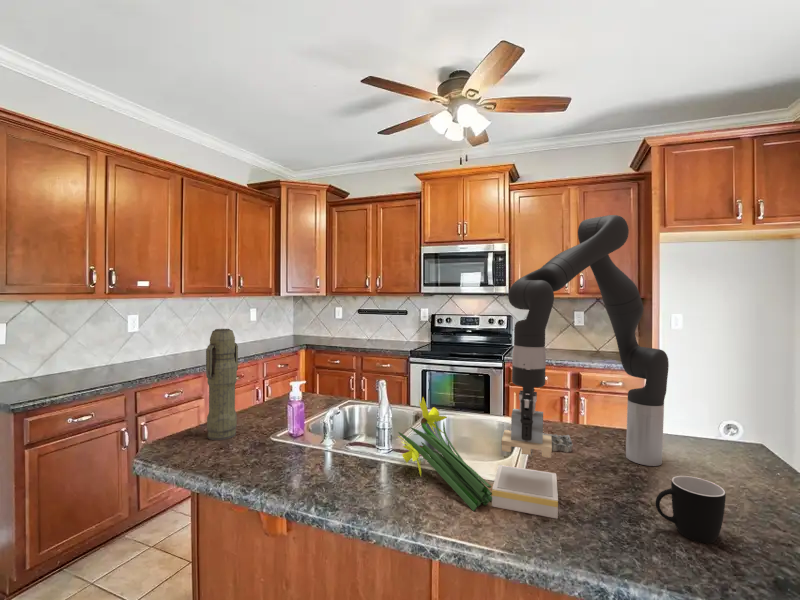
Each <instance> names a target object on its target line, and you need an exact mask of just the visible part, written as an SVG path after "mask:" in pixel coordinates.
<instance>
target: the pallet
mask: <svg viewBox="0 0 800 600" xmlns="http://www.w3.org/2000/svg"><path fill="white" fill-rule="evenodd" d="M524 418H529V419H530V415H524ZM520 419H521V413H520V408H512V412H511V421H510V422H511V423H510V427H511V428H510V430H509V429H504V431H503V434H502V438H501V452H507V453H511V452H512V447H513V448H521V455H527V456H531V455H532V454H531V453H532V450H536V451H541V457H542V458H549V459H552V452H553V450H552V439H551V436H550V435H543V433H544V411H537V410H535V414H533V420H532V421H533V423H532V439H531V440H530V441H528V440H523V439H522V423H521V421H520Z"/></svg>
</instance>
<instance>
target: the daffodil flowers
mask: <svg viewBox="0 0 800 600" xmlns="http://www.w3.org/2000/svg"><path fill="white" fill-rule="evenodd" d="M425 400H426V399H425V398H424V396H422V398H421V400H420V399H419V400H418V401H419V402H418V403H419V404H418V405H419V406H420V409H421V411H422V412H421V413H422V414H421V415H422V417H423V418H421V420H420V425H421V428H422V429H423V431H424V432H425V433H424V432H423V431H421V430H419V429H417V428H414V427H411V426H410V427H409V428H410V429H411V430H412V431H413V432H414V434H412V435H413V436H419V437H421V439H423V440H424V441H426V442H427V443H428V444H430V446H431V447H433V449H432V448H430V447H429V446H428V445H426V444H425V443H424V442H422V441H421V445H420V444H418V443H416V442H415V441H414V440H412V439H411V438H410V437H408V436H407V435H405V434H403V433H402V432H400V431H397V433H398V434H399V435H400V436H399V435H398V436H397V437H398V438H399V439H401V441H400V442H401V443H402V444H405V445H403V446H402V448H403V449H406V450H408V451H407V452H404V453H402V454H401V456H402V458H403V461H405V463H406V464H408V463H409V462H410V461H411V460H412V462H416V463H417V468H418V471H419V473H418V474H419V475H420V477H422V467H421V464H422V461H421V460H420V459H421V457H420V456H422V459H425V462H426V463H428V464H429V465H430V466H431V467H432V468H433V470H435V472H436V473H438V475H439V476H440V477H441V478H442V479H443V481H445V482H446V483H447V485H448V486H449V487H450V488H452V490H453V491H454V492H455V493H456V494H457V495H458V496H459V498H460V499H461V500H462V501H463V502H465V504H466V505H467V506H468V507H469V509H471V510H472V512H475V511H476V510H477V508H479V507H480V506H481V505H483V506H487V505H488V504H489V503H490V502H491V503H492V490H490V489H489V488H492V486H491V484H490V483H488V482H487V481H486V480H485V479H484V478H483V477H482V476H481V475H479V474H478V473H477V472H476V471H475V469H473V468H472V467H471V466H470V465H468V463H466V462H465V460H464V459H463V458H462V456H461V455H460V453H459V452H458V451H457V450H456V448H455V446H454V445H453V444H452V442H451V441H450V439H449V437H448V435H447V432H446V426H445V424H446V423H445V421H444V420H445V419H447V418H448V416H447V415H440V412H439V410H438V409H437V408H436V407H435V406H434V407H431V409H430V411H428V406H427V404H426V401H425ZM441 421H443V422H442V430H443V431H442V430H441V429H440V428H439V425H438V424H437V423H438V422H441ZM427 425H429V427H430V429H431V430H432V431H431V430H430V429H429V428H428V426H427ZM434 429H435V430H436V432H437V434H436V432H435V431H434ZM433 432H434V433H433ZM441 433H442V434H443V435H444V437H445V439H446V441H447V443H446V441H445V439H444V438H443V435H442V434H441ZM436 435H437V436H438V437H437V436H436Z"/></svg>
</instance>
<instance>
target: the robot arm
mask: <svg viewBox="0 0 800 600" xmlns="http://www.w3.org/2000/svg"><path fill="white" fill-rule="evenodd" d="M577 238H578V239H577V240H578V242H579V243H578V244H575V245H573V246H572V247H570V248H567V249H565V250H564V251H562V252H559V253H558V254H556V255H554V257H552V258H550V259H549V261H547V262H545V264H543V265H542V266H541V267H540V268H538V269H536V270H533V271H531V272H529V273H528V274H526V275H523V276H522V277H520V278H518V279H517V280H516V281H514V282H513V284H512V285H511V286H510V288H509V290H508V295H507V297H508V298H507V299H508V301H509V303H510V305H511V306H512V307H513V308H514V309H518V310H522V311H523V310H527V311H528V312H527V315H526V318H525V319H522V320H518V321H516V323H514V330H513V332H514V334H513V335H514V336H513V337H514V338H513V349H512V364H511V365H512V367H511V369H512V371H511V381H512V384H514V385H515V386H519V387H521V388H522V390H521V389H520V390H519V393H518V400H519V409H520V413H521V419H520V421H521V423H522V439H523V440H528V441H530V440H531V439H532V423H533V421H532V420H533V414H535V411H536V403H537V401H538V400H537V396H538V392H537V391H535V388H542V387H544V386H545V385H546V368H547V367H546V365H547V364H546V362H547V361H546V360H547V356H546V355H547V354H546V329H547V325H548V323H549V319H550V315H551V312H552V309H553V305H554V302H555V301H554V300H555V293H554V292H558V291H560V290H561V289H563V288H564V287H565V286H566V285H568V283H570V282H571V281H572V280H573V279H574V278H576V277H577V276H578V275H579V274H581V272H583V271H584V270H586V269H587V268H588V267H590V269H591V271H592V273H593V276H594V279H595V282H596V284H597V286H598V290H599V292H600V295H601V298H602V302H603V304H604V308H605V310H606V313H607V315H608V318H609V321H610V324H611V327H612V331H613V333H614V336H615V340H616V343H617V349H618V354H619V358H620V362H621V365H622V367H623V370H624V371H625V373H626V374H627V375H629V376H630V377H633V378H639V379H643V380H645V383H644V384H645V385H644V386H643V387H639V388H632V389H629V390H628V391H627V403H626V404H627V407H626V410H627V411H626V412H627V413H626V436H625V437H626V439H625V458H626V459H627V460H629V461H631V462H633V463H636V464H638V465H639V464H640V465H643V466H647V467H657V466H660V465H662V464H663V448H664V445H663V444H664V419H665V416H664V413H665V398H666V394H667V389H668V388H667V387H668V376H669V367H670V365H669V358H668V354H667V353H666V352H665V351H664V350H663V349H661V348H660V349H659V348H652V347H644V346H640V344H639V343H638V341H637V337H636V330H637V328H638V326H639V324H640V321H641V319H642V317H643V314H644V304H643V300H642V298H641V294H640V291H639V289H638V286H637V284H635V282H634V281H633V280H632V279H631V277H629V276H628V275H626V273H624V272H623V270H621V269H620V268H619V267H618V266H616V264H615V263H614V262H613V260H612V259H611V257H610V255H609V254H612V253H613V252H615V251H617V250H619V249H621V248H622V247H623V246H624V245H625V244H626V242H627V241H628V238H629V225H628V223H627V221H626V219H625V218H624V217H623V216H621V215H617V214H616V215H615V214H612V215H611V214H607V215H602V216H596V217H590V218H586V219H584V220H581V222H580V224H579V226H578V227H577ZM524 415H530V419H529V418H524Z"/></svg>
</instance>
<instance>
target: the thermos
mask: <svg viewBox="0 0 800 600" xmlns="http://www.w3.org/2000/svg"><path fill="white" fill-rule="evenodd" d="M238 358H239V346H238V343H236V337H235V334H234V331H233V329H231V328H216V329H214V330H212V331H211V334H210V337H209V345H207V348H206V350H205V374H206V377H205V378H206V379H207V385H208V414H207V415H206V416H207V417H206V430H207V439H209V440H212V441H220V440H221V441H222V440H228V439H231V438H234V437H235V436H236V435H237V429H236V428H237V421H238V420H237V419H238V418H237V417H238V416H237V415H238V414H237V412H236V384H237V381H238V380H237V379H238V377H237V375H238V374H237V372H238V367H239V359H238Z"/></svg>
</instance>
